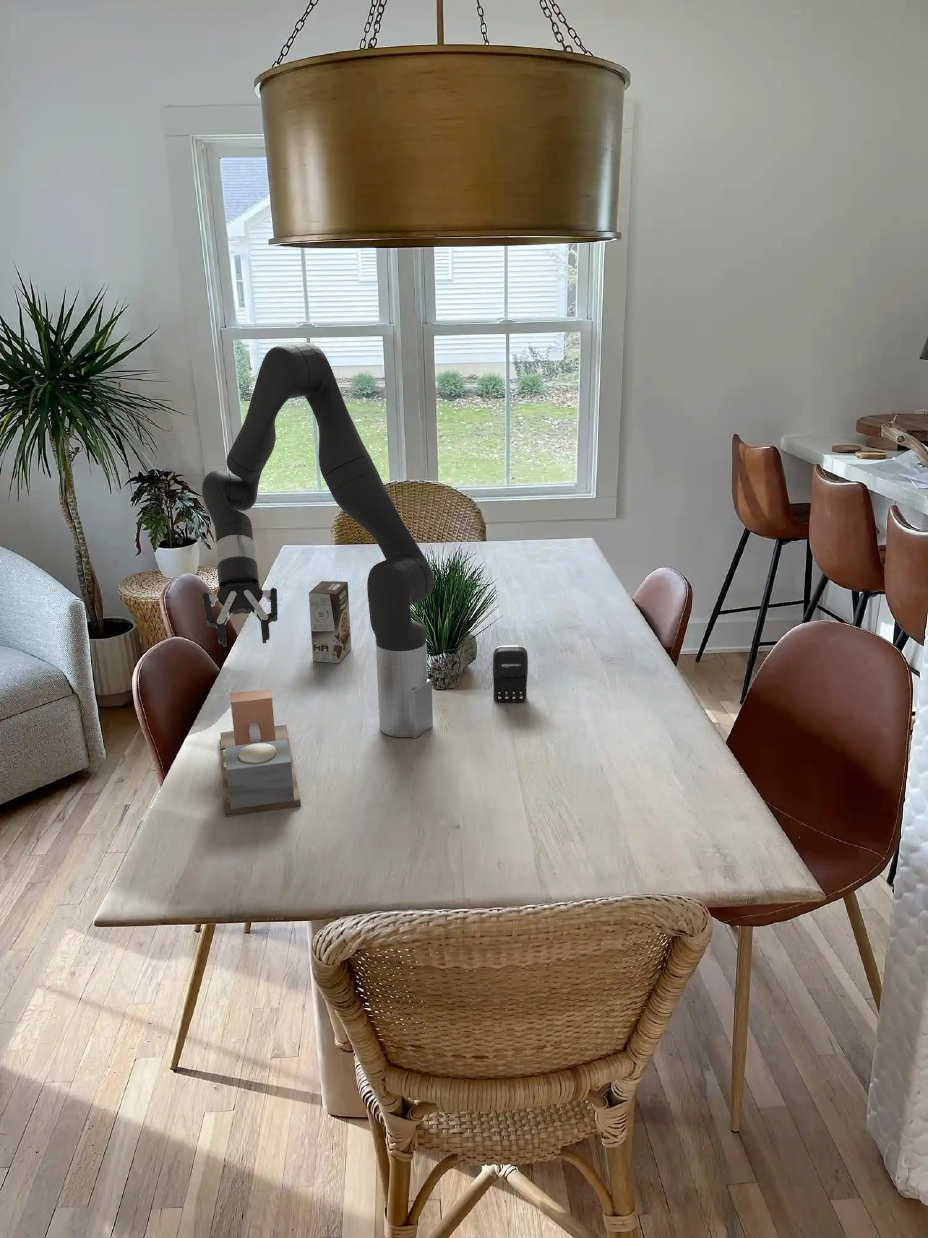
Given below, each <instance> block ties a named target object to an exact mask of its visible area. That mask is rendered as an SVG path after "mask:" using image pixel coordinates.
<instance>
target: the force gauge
mask: <svg viewBox="0 0 928 1238" xmlns="http://www.w3.org/2000/svg"><path fill="white" fill-rule="evenodd" d="M274 727H275V738H276V741H270V742H262V743H253V744H245V745H237V746H235V738H234V730H230V731H222V732H220V747H225V750H220V752H221V753H220V754H221V768H222V791H223V795H222V796H223V809H224V810H223V811H224V812H223V813H224V817H230V816H231V817H232V816H238V815H239V816H240V815H246V814H252V813H260V812H266V811H267V812H268V811H274V810H275V811H276V810H283V809H289V808H296V807H297V808H298V807H301V806H302V802H301V795H300V788H299V784H298V781H297V774H296V770H295V763H294V759H293V754H292V749H291V743H290V738H289V733H288V728H287V724H283V725H282V724H280V725H274ZM228 746H229V747H228Z"/></svg>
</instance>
